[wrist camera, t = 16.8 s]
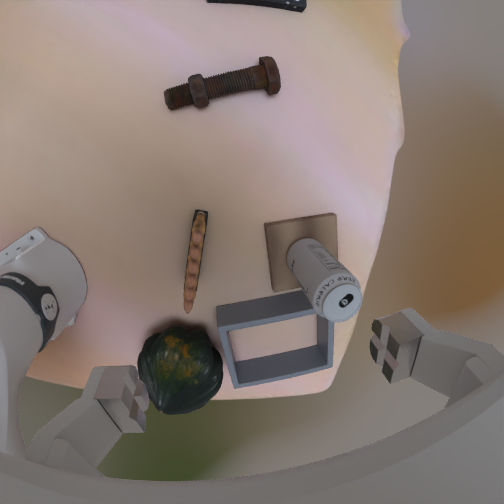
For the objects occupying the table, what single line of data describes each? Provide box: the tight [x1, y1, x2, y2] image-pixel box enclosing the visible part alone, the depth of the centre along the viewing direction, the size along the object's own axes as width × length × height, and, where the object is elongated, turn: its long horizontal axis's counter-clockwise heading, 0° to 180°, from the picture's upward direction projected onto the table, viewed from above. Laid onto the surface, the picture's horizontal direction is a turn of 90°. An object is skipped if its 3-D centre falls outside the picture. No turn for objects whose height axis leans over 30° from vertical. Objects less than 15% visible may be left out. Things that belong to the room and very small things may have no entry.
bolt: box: [164, 56, 281, 110], centre depth 33 cm, size 6×5×15 cm
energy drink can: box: [287, 238, 362, 322], centre depth 37 cm, size 6×6×15 cm
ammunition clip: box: [184, 210, 208, 314], centre depth 37 cm, size 11×2×12 cm, turn 168°
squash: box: [137, 325, 223, 415], centre depth 43 cm, size 14×15×15 cm
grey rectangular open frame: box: [217, 290, 334, 389], centre depth 47 cm, size 18×14×6 cm
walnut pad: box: [264, 213, 338, 292], centre depth 45 cm, size 11×11×2 cm
